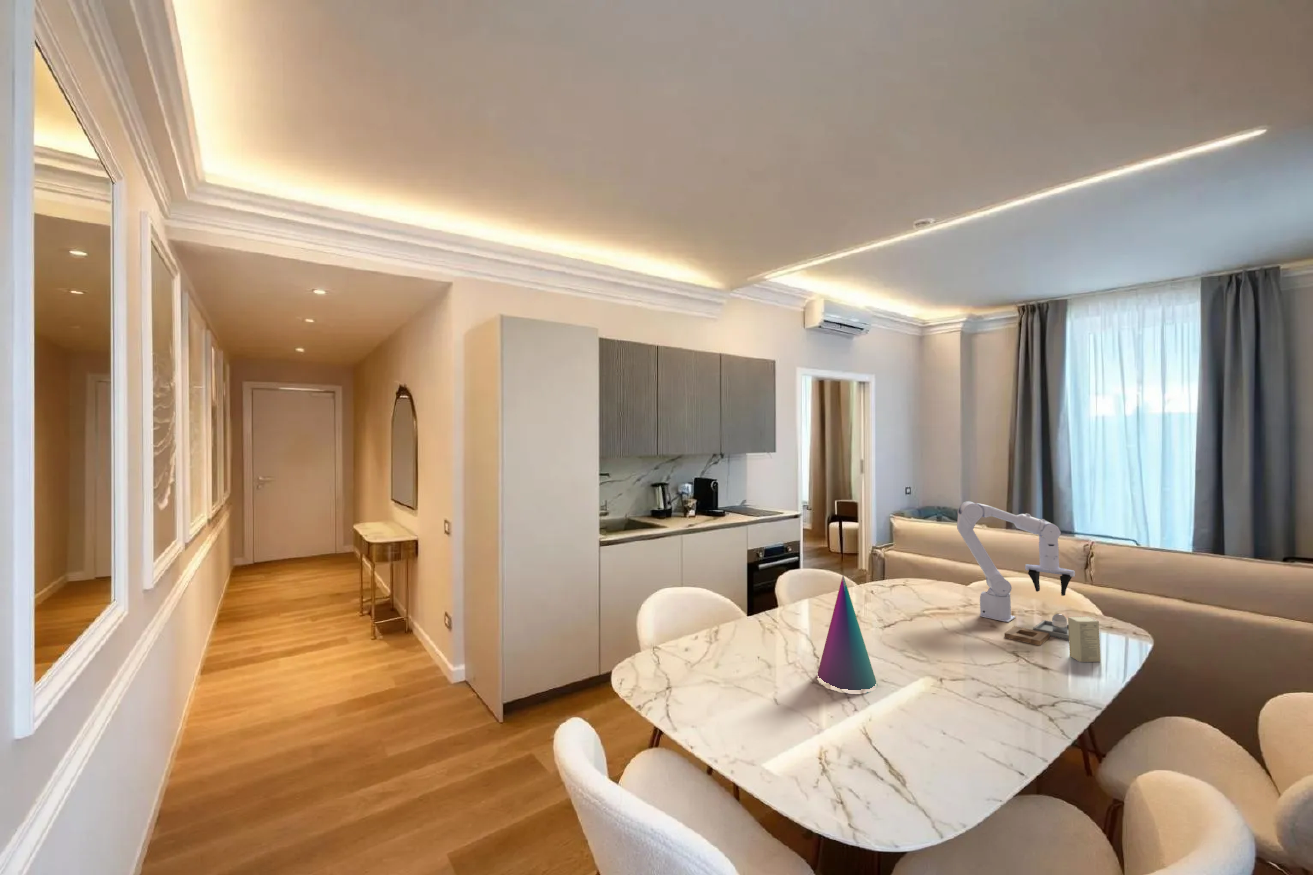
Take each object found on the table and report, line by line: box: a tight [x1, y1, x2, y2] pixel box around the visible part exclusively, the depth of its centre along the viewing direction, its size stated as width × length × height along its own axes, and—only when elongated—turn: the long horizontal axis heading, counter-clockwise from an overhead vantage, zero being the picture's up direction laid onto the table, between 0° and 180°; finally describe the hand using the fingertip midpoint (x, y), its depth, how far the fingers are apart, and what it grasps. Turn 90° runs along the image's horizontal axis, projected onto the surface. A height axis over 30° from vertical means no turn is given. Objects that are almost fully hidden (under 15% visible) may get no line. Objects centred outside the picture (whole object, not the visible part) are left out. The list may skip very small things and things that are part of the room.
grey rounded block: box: [1051, 613, 1068, 634], centre depth 181 cm, size 4×4×6 cm
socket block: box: [1003, 625, 1050, 646], centre depth 177 cm, size 10×10×2 cm
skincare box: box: [1067, 616, 1101, 663], centre depth 159 cm, size 6×4×12 cm
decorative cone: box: [817, 574, 877, 690], centre depth 148 cm, size 16×16×30 cm
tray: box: [1032, 619, 1069, 641], centre depth 181 cm, size 12×12×2 cm
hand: (1050, 593), depth 192 cm, fingers open, 7 cm apart
